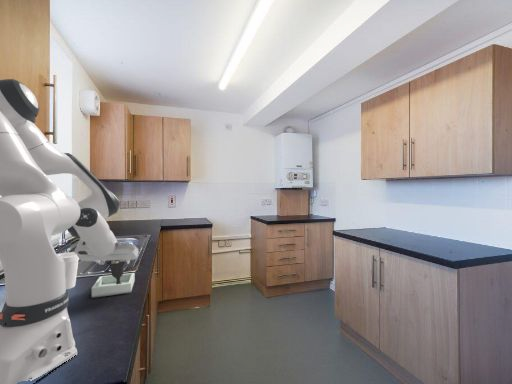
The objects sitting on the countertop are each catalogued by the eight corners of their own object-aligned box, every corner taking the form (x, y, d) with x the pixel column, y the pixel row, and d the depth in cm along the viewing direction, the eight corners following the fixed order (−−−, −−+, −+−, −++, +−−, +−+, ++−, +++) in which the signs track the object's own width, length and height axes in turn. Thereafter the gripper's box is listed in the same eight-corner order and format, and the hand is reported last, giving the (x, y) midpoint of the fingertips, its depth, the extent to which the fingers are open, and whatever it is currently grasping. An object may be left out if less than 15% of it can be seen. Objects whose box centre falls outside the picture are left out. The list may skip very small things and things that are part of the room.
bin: (130, 292, 100) (130, 283, 100) (91, 297, 96) (91, 288, 96) (134, 280, 112) (134, 272, 112) (100, 284, 108) (100, 276, 108)
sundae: (131, 283, 107) (129, 247, 106) (118, 290, 100) (116, 251, 100) (118, 282, 109) (116, 246, 108) (105, 289, 102) (102, 251, 102)
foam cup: (65, 292, 101) (64, 259, 100) (44, 291, 102) (43, 258, 102) (85, 283, 110) (84, 252, 110) (65, 282, 111) (65, 251, 111)
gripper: (135, 235, 98) (144, 254, 108) (76, 237, 96) (91, 256, 106) (130, 250, 93) (140, 268, 103) (69, 252, 91) (85, 271, 101)
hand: (115, 262), depth 104 cm, fingers open, 8 cm apart
